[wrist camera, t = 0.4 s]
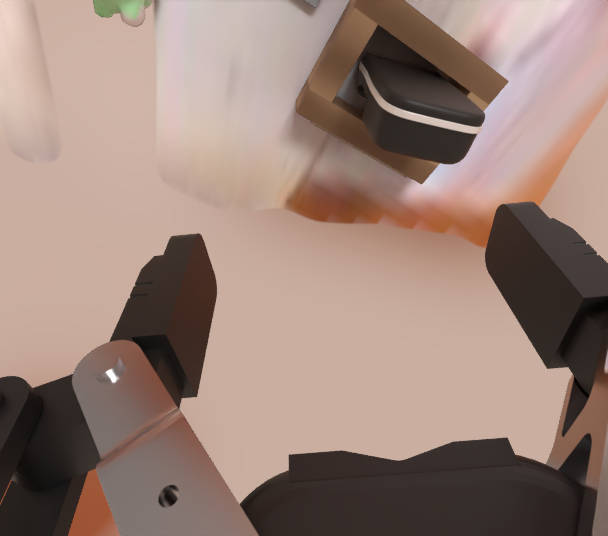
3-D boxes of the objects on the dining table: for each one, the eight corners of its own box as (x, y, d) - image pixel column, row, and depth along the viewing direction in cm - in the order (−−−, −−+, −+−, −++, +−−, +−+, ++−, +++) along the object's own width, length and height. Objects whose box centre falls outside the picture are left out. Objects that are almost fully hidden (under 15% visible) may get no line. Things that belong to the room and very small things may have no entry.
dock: (364, -28, 28) (372, -25, 25) (492, 71, 32) (508, 81, 30) (294, 103, 33) (295, 115, 31) (411, 171, 38) (419, 186, 35)
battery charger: (346, 99, 33) (367, 157, 24) (360, 50, 31) (389, 94, 22) (421, 117, 34) (468, 178, 26) (441, 71, 32) (499, 121, 23)
